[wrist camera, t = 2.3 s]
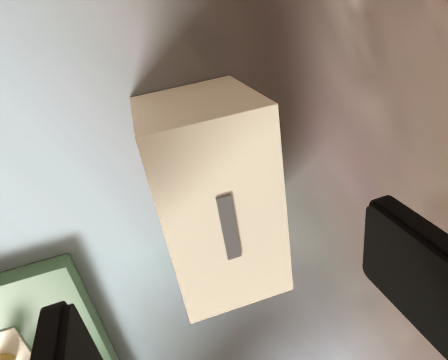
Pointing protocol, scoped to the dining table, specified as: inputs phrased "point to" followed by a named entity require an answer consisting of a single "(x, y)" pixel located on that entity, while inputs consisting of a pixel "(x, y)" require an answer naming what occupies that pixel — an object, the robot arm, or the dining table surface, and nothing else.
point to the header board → (43, 305)
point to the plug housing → (217, 191)
